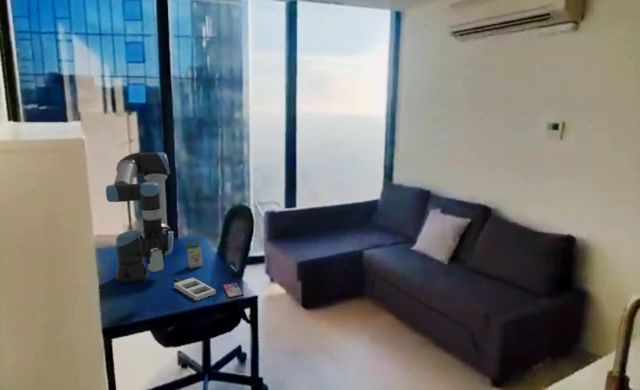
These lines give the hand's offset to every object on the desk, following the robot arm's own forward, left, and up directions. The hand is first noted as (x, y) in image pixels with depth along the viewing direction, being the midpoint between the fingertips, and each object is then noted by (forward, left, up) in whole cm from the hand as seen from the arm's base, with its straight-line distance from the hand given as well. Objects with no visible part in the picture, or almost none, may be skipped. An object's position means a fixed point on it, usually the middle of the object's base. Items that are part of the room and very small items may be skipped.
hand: (156, 268), depth 200 cm
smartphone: (+16, +29, -15) cm, 36 cm away
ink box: (-23, +32, -15) cm, 42 cm away
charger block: (0, 0, 0) cm, 0 cm away
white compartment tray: (0, +16, -15) cm, 22 cm away
